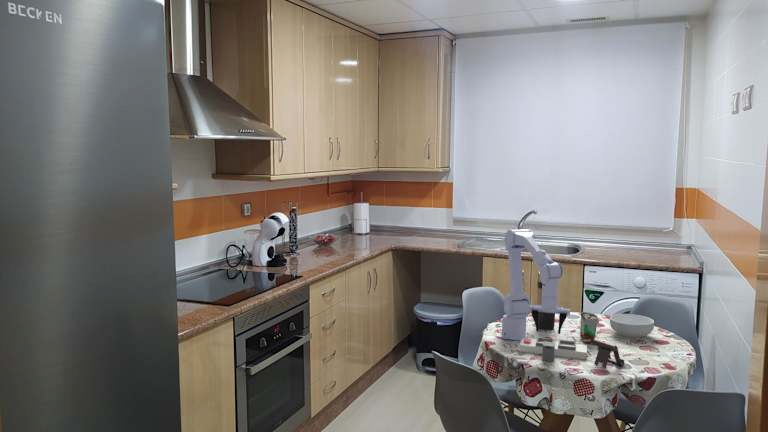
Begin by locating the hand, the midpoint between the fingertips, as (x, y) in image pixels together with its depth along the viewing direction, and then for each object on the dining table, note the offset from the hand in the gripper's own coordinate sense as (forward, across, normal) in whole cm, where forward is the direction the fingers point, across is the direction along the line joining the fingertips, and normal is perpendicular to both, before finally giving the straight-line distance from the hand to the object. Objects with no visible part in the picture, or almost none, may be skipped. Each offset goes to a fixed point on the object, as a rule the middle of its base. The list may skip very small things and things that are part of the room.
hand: (548, 331), depth 218 cm
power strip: (+9, +2, +6) cm, 11 cm away
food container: (+10, +14, +26) cm, 31 cm away
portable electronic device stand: (+10, +21, 0) cm, 23 cm away
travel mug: (+10, -4, +36) cm, 38 cm away
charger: (+9, +1, -4) cm, 10 cm away
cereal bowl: (+10, +30, +39) cm, 50 cm away
